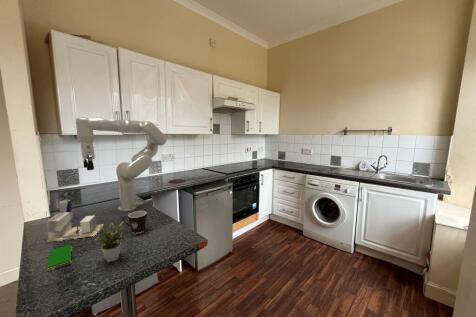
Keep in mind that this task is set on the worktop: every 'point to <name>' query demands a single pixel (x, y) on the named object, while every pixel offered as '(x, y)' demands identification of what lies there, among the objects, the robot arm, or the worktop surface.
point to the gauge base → (73, 232)
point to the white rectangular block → (88, 224)
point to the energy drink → (66, 207)
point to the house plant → (110, 241)
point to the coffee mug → (137, 221)
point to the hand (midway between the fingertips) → (88, 168)
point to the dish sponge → (59, 256)
